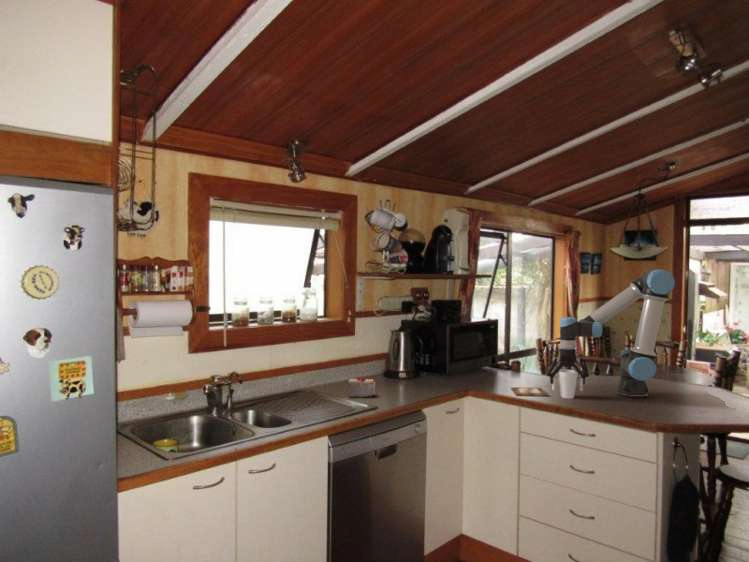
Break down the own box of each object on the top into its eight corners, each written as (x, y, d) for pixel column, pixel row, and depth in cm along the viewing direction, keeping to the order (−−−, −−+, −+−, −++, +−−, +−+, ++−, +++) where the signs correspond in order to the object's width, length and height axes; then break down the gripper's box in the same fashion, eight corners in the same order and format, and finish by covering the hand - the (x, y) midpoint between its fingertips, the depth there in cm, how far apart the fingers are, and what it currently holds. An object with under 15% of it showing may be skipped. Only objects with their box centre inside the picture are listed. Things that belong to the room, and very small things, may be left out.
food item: (373, 394, 275) (374, 374, 275) (375, 397, 267) (375, 377, 267) (347, 394, 273) (347, 375, 273) (347, 398, 266) (348, 378, 265)
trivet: (541, 389, 287) (541, 387, 287) (549, 396, 271) (549, 394, 271) (510, 389, 288) (510, 386, 288) (516, 395, 272) (516, 393, 272)
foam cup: (573, 400, 264) (574, 373, 263) (554, 397, 269) (555, 371, 269) (579, 396, 271) (579, 370, 271) (561, 394, 277) (561, 368, 277)
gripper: (590, 347, 273) (590, 389, 273) (540, 346, 274) (540, 388, 275) (595, 349, 265) (595, 392, 266) (544, 348, 267) (543, 391, 267)
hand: (567, 390), depth 270 cm, fingers open, 13 cm apart
